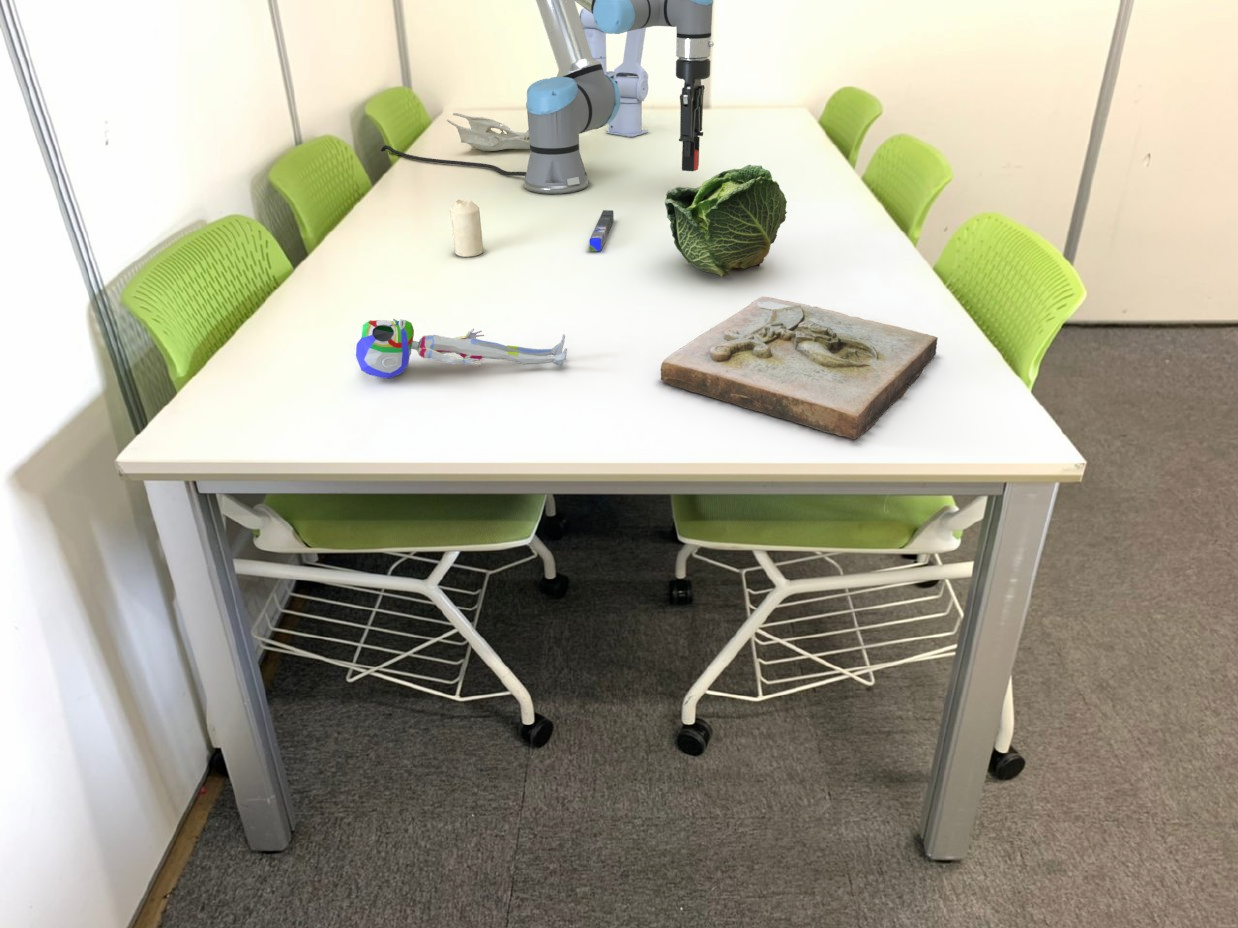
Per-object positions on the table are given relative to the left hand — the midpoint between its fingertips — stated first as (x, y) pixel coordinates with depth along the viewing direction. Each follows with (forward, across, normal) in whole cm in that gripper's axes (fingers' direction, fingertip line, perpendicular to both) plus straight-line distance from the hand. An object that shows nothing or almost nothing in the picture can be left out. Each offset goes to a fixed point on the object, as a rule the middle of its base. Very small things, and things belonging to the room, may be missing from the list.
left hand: (690, 168), depth 207 cm
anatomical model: (+5, +26, +61) cm, 67 cm away
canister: (0, 0, 0) cm, 0 cm away
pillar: (+5, -37, +9) cm, 39 cm away
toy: (+5, -100, +10) cm, 101 cm away
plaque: (+5, -87, -38) cm, 95 cm away
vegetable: (+5, -49, -18) cm, 53 cm away
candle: (+5, -54, +31) cm, 62 cm away
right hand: (-4, +36, +35) cm, 50 cm away
